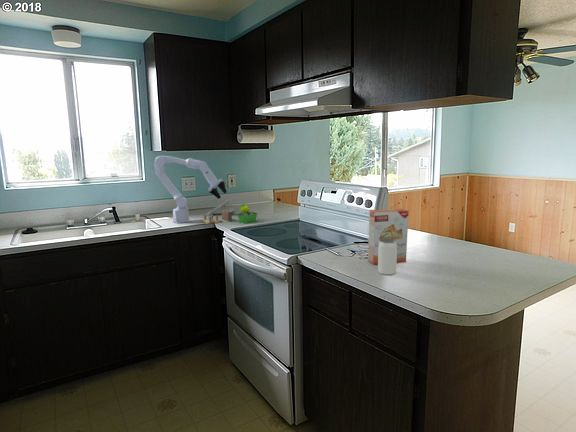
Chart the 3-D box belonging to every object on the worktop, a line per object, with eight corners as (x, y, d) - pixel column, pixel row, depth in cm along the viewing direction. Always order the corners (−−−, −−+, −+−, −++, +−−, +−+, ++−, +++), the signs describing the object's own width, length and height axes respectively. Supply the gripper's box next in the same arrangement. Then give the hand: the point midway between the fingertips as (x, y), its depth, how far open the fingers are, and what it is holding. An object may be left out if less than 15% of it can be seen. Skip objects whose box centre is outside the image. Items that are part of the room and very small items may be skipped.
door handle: (211, 223, 265) (234, 209, 260) (205, 213, 265) (228, 199, 259) (221, 218, 282) (242, 205, 277) (215, 209, 282) (236, 195, 276)
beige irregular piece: (207, 224, 234) (206, 217, 234) (200, 221, 244) (199, 215, 243) (222, 222, 240) (221, 215, 239) (214, 219, 250) (214, 213, 249)
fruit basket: (245, 224, 232) (244, 205, 230) (235, 222, 238) (234, 204, 236) (258, 221, 241) (257, 203, 238) (248, 219, 246) (248, 202, 244)
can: (398, 275, 136) (399, 242, 133) (379, 275, 136) (380, 242, 134) (393, 269, 142) (394, 238, 140) (376, 269, 142) (377, 238, 140)
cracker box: (373, 265, 148) (374, 212, 144) (367, 260, 153) (368, 209, 150) (407, 262, 150) (409, 210, 146) (400, 258, 156) (401, 207, 152)
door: (228, 221, 241) (228, 212, 240) (222, 219, 249) (221, 210, 248) (231, 221, 242) (231, 211, 241) (225, 218, 250) (225, 209, 249)
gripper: (208, 180, 235) (221, 198, 239) (220, 171, 247) (232, 188, 250) (201, 184, 239) (213, 202, 243) (213, 175, 251) (225, 192, 254)
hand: (222, 195), depth 247 cm, fingers open, 7 cm apart
